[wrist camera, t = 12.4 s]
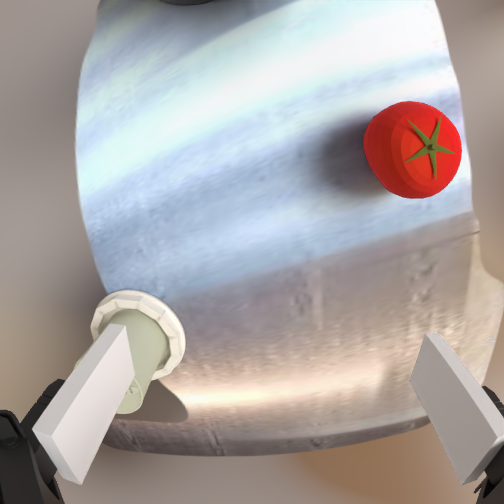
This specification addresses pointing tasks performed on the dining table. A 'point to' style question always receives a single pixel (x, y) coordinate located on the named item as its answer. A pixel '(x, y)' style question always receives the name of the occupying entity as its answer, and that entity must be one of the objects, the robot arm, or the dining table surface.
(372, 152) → the tomato
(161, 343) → the can
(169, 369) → the saucer
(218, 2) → the dining table surface
